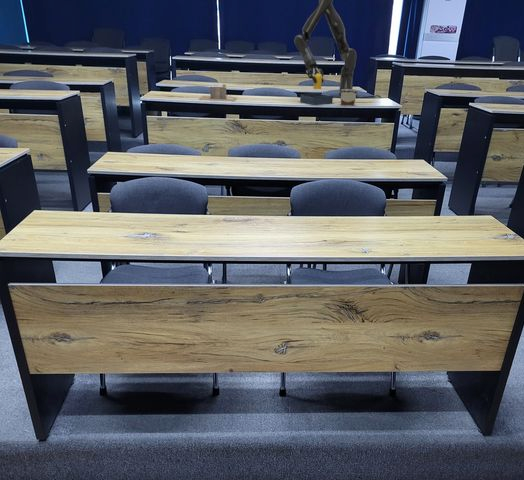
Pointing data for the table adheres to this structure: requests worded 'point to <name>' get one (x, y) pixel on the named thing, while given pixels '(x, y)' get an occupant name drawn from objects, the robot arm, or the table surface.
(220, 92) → the ruin model on sheet
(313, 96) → the crate
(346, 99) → the food container
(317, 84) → the pepper
